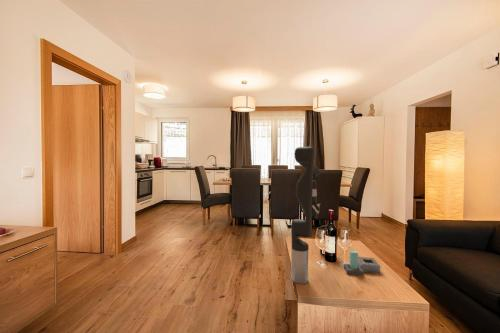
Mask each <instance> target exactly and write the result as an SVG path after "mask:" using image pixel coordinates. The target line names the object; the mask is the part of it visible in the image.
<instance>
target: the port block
mask: <svg viewBox="0 0 500 333" xmlns="http://www.w3.org/2000/svg"><path fill="white" fill-rule="evenodd" d="M358 265H360V267H361V268H362V270H363V271H364V273H370V274H381V265H380V263H378V262H377V260H376V259H375V258H374V257H363V256H358Z"/></svg>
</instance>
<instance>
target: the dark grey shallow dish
mask: <svg viewBox="0 0 500 333" xmlns="http://www.w3.org/2000/svg"><path fill="white" fill-rule="evenodd" d="M343 269H344V270H345V273H346V275H351V276H360V277H362V276H364V273H365V272H364V271H363V270H362V268H361V267H360V265H358V269H357V270H354V269H350V263H344V264H343Z"/></svg>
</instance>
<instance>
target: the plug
mask: <svg viewBox="0 0 500 333" xmlns="http://www.w3.org/2000/svg"><path fill="white" fill-rule="evenodd" d="M358 254H359V253H358V251H357V250H349V264H350V269H354V270H357V269H358V257H359V255H358Z"/></svg>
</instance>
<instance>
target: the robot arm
mask: <svg viewBox="0 0 500 333" xmlns="http://www.w3.org/2000/svg"><path fill="white" fill-rule="evenodd" d="M315 153H316V152H315V147H313V146H299V147H296V148H295V150H294V158H295V159H294V160H295V162H297V163H298V164H299V165H300V166H302V168H303V173H302V175H301V176H300V178H299V179H298V180H297V182H296V183H295V184H296V186H295V197H296V199H297V202H298V203H299V206H300V212H301V213H302V218H303V219H300V218H299V219H297V218H296V219H292V221H291V223H290V224H291V225H290V227H291V228H290V230H291V231H290V232H291V262H290V264H291V265H290V272H291V273H290V280H291V281H292V282H293V283H294V284H295V283H296V284H304V285H305V284H306V283H308V282H309V244H308V242H306V241H304V240H302V239H301V238H311V236H312V230H313V229H312V228H313V226H312V211H315V212H316V216H315V218H316V219H317V220H318V219H319V214H321V213H322V204H321V203H317V198H318V197H317V195H318V192H317V186H318V185H317V183H318V182H317V181H316V180H314V179H313V178H317V177H319V175H320V168H319V167H318V166H317V165H315ZM317 207H318V210H317ZM316 219H315V220H316Z"/></svg>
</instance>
